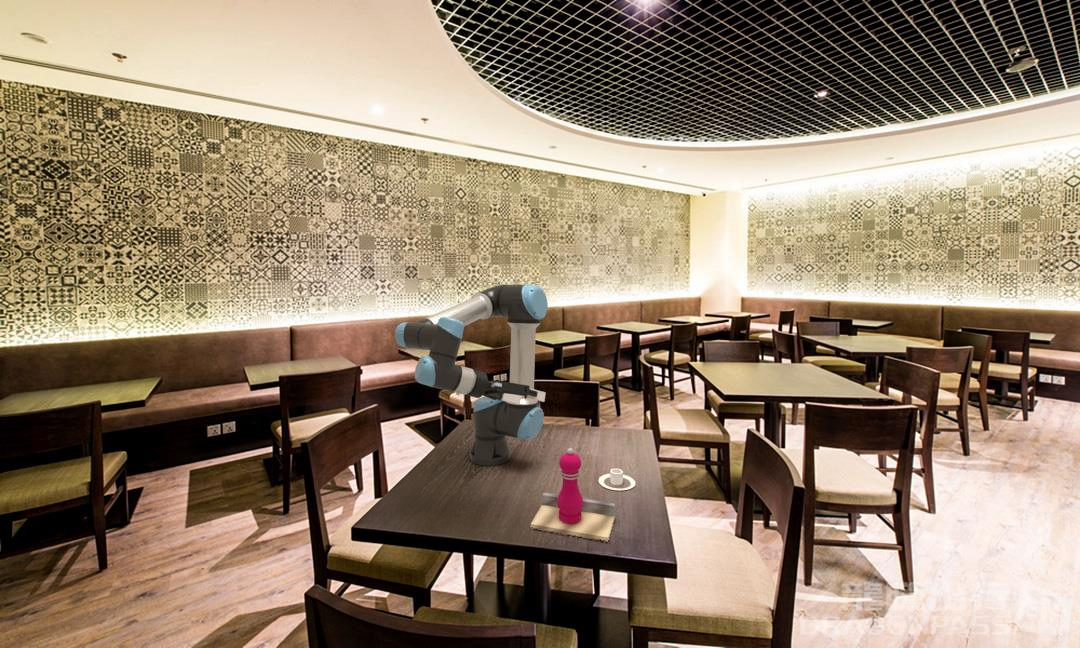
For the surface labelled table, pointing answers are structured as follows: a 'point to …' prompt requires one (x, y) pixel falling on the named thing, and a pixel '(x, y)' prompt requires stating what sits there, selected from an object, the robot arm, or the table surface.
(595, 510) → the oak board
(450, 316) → the robot arm
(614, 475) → the candle holder
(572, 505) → the pepper mill
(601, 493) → the table surface
